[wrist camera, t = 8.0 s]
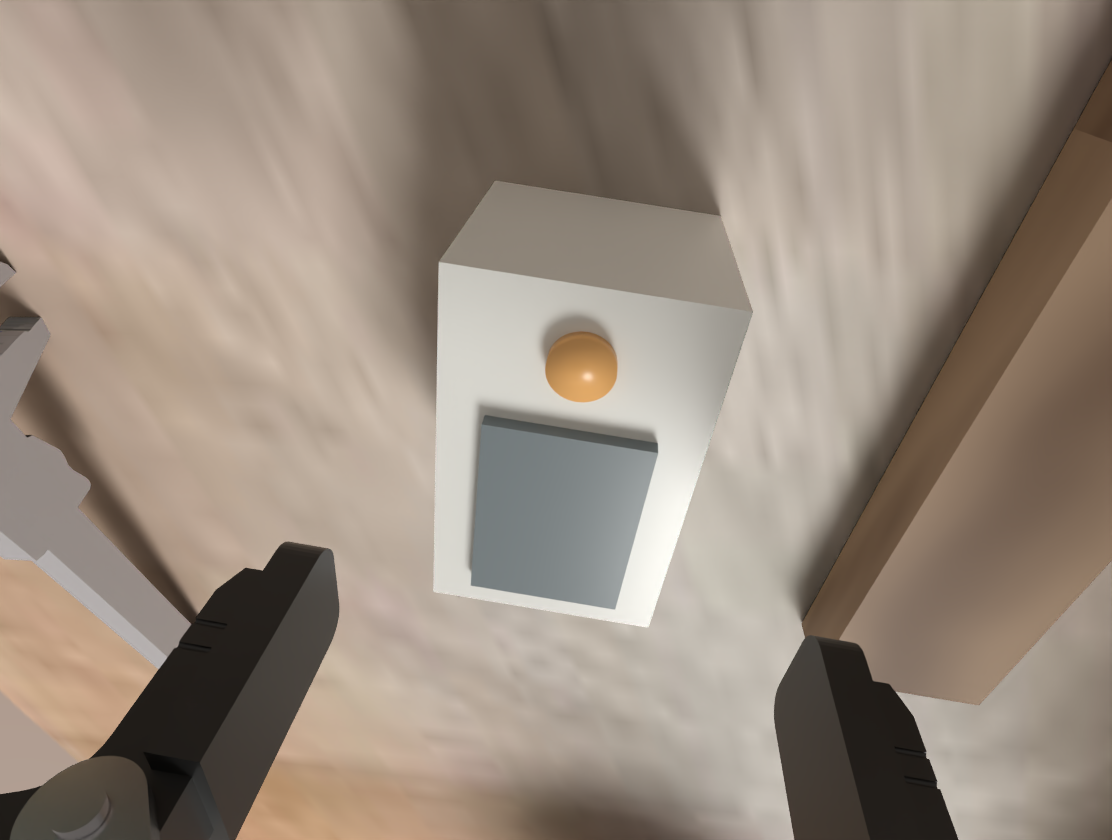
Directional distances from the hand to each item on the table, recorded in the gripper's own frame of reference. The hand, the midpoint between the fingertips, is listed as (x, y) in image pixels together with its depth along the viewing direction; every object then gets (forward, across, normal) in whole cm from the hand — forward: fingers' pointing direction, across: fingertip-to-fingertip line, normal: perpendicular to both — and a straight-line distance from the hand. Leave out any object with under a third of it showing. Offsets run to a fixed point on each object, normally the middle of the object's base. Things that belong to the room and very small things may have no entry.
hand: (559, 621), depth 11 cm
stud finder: (+8, 0, -1) cm, 8 cm away
